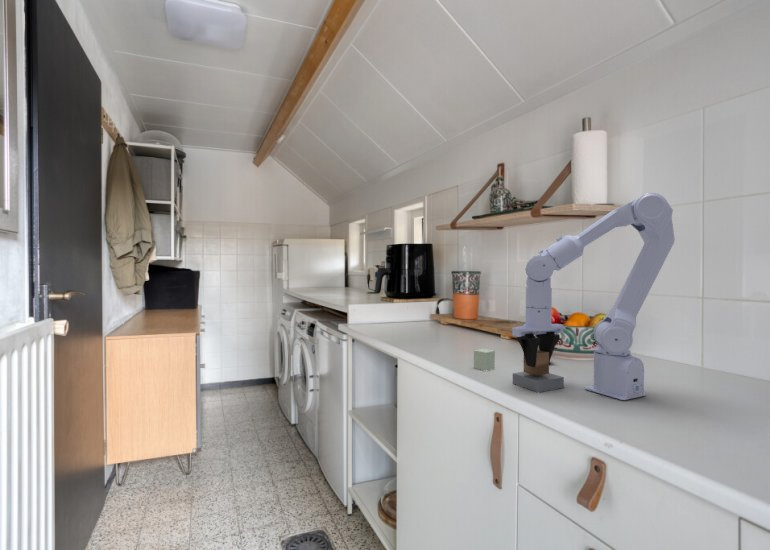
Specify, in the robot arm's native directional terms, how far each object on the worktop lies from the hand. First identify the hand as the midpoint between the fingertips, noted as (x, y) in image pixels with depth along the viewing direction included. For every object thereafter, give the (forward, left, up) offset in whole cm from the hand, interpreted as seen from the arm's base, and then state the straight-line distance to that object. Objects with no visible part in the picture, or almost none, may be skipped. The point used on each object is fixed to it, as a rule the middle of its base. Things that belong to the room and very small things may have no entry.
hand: (537, 365), depth 100 cm
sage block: (+19, 0, -5) cm, 20 cm away
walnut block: (+1, 0, -2) cm, 2 cm away
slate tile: (0, 0, -5) cm, 5 cm away
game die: (+17, -19, -5) cm, 26 cm away
